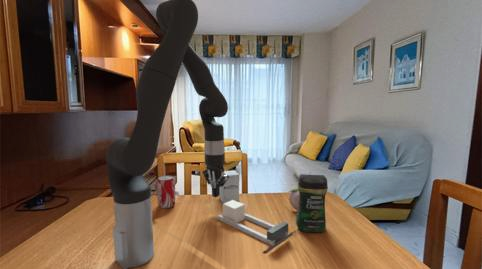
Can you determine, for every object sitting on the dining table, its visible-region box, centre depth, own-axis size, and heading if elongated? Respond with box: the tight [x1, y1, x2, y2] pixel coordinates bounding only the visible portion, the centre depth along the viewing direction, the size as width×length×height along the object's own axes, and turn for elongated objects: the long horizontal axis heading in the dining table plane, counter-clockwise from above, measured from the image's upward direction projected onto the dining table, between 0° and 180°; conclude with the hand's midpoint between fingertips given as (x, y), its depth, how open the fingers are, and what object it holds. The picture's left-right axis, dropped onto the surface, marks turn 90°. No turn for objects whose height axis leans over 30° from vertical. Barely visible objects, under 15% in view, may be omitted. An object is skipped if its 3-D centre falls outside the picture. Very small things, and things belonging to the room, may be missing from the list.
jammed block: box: [222, 200, 246, 223], centre depth 90 cm, size 6×5×6 cm
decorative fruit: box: [288, 188, 299, 211], centre depth 98 cm, size 9×8×10 cm
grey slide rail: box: [217, 213, 294, 254], centre depth 85 cm, size 24×14×5 cm, turn 46°
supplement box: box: [218, 170, 240, 203], centre depth 109 cm, size 7×7×13 cm
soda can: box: [156, 175, 176, 209], centre depth 104 cm, size 7×7×12 cm
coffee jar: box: [295, 173, 329, 233], centre depth 85 cm, size 10×8×19 cm
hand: (215, 196), depth 97 cm, fingers closed
